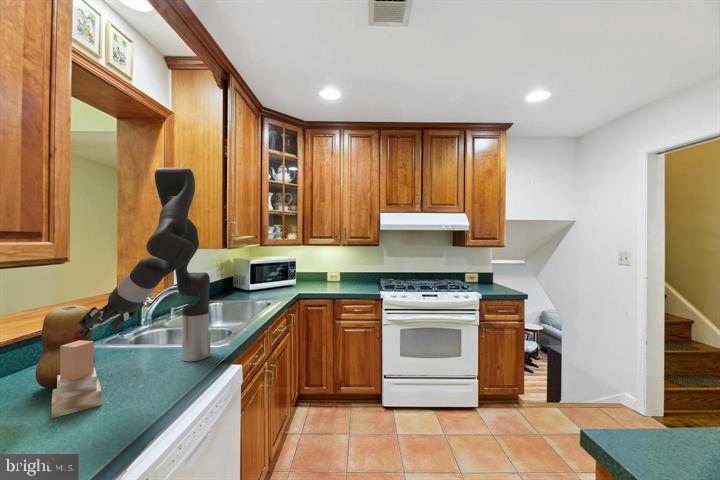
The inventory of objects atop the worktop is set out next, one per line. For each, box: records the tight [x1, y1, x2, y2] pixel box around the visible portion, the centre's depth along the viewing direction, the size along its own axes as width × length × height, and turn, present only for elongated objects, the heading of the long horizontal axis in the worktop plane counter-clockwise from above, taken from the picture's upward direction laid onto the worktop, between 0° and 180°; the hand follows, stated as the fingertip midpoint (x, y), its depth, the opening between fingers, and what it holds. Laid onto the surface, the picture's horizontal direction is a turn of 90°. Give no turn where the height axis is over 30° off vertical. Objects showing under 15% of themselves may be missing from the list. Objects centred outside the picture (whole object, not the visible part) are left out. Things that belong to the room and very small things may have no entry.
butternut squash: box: [35, 304, 96, 390], centre depth 100 cm, size 14×13×25 cm
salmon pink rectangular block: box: [60, 340, 95, 380], centre depth 89 cm, size 5×5×9 cm
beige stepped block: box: [51, 367, 102, 419], centre depth 89 cm, size 10×10×8 cm
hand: (98, 330), depth 87 cm, fingers open, 8 cm apart
